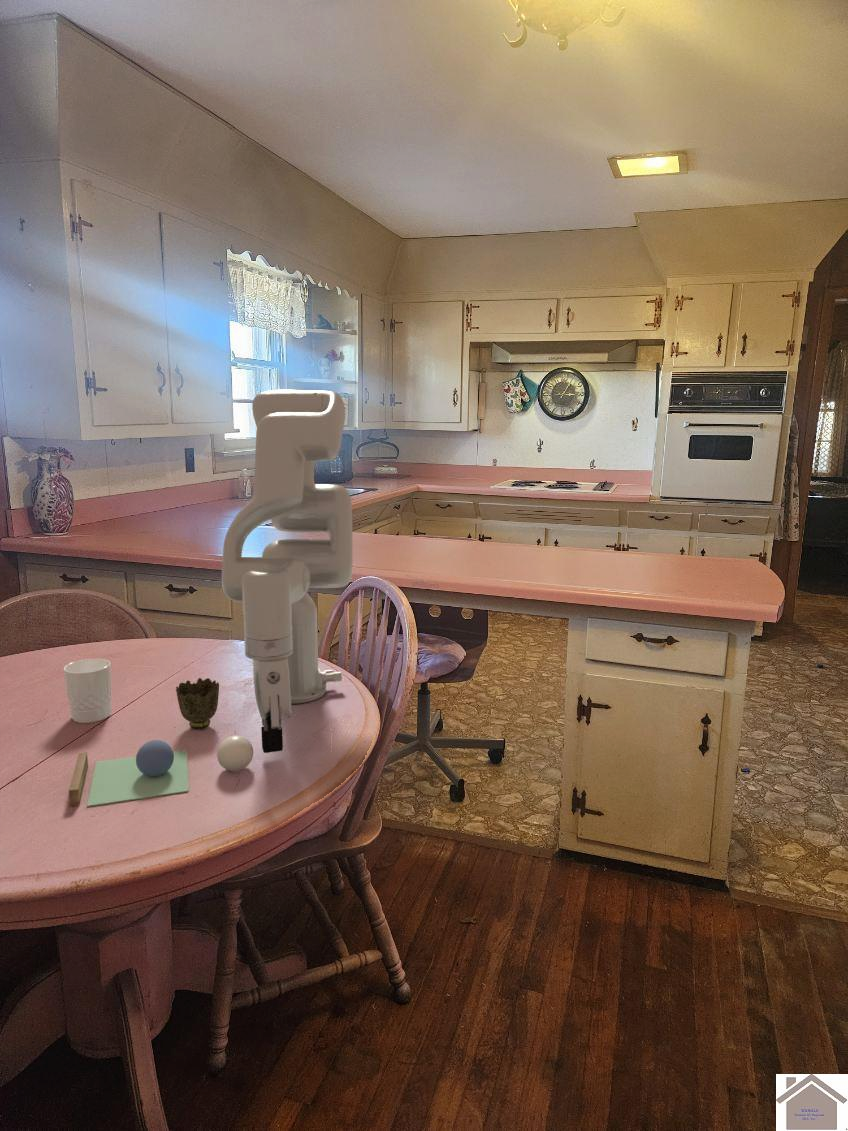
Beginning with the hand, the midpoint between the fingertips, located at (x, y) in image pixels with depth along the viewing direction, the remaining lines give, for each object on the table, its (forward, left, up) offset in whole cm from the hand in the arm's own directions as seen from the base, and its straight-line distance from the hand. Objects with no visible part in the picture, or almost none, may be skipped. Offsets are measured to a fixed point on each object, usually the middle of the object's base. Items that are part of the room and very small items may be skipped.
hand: (272, 749), depth 120 cm
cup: (+11, -16, -2) cm, 19 cm away
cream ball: (+6, +2, +1) cm, 7 cm away
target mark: (+20, 0, -2) cm, 21 cm away
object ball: (+18, 0, +1) cm, 18 cm away
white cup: (+30, -27, -2) cm, 40 cm away
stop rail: (+29, 0, -2) cm, 29 cm away
